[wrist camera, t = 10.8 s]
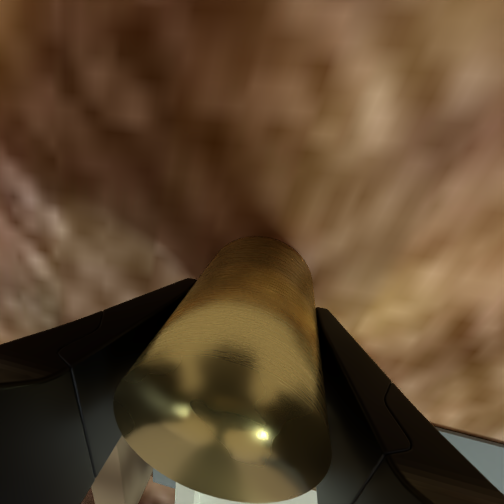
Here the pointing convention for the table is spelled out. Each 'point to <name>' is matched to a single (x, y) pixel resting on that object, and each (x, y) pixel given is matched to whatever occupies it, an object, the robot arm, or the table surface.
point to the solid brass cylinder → (235, 381)
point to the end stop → (121, 477)
